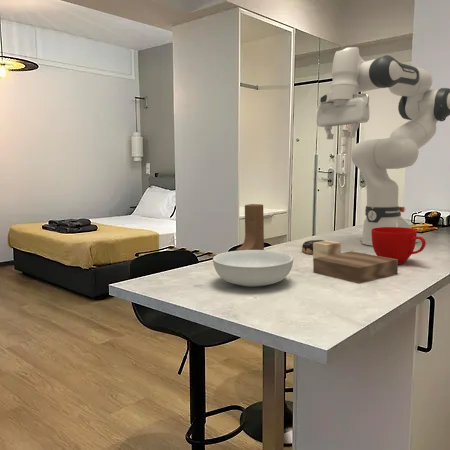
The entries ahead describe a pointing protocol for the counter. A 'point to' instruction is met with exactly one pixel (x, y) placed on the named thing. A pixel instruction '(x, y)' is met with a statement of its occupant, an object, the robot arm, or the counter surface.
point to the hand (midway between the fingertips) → (340, 138)
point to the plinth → (355, 266)
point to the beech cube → (326, 248)
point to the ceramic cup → (395, 242)
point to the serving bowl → (253, 267)
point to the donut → (309, 246)
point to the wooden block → (253, 228)
